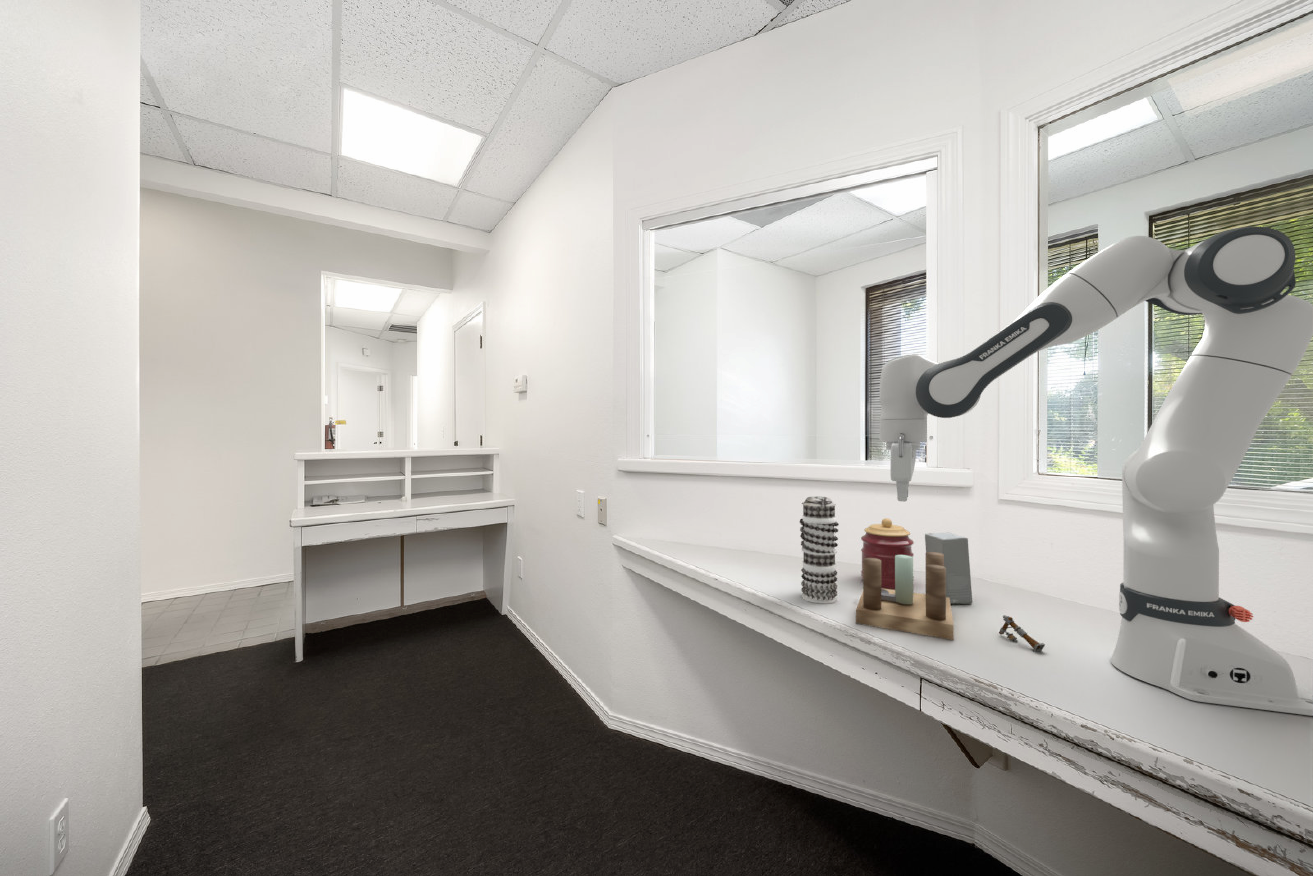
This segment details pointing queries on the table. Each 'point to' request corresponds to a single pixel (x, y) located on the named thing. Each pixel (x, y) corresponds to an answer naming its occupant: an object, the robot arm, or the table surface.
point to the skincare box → (953, 564)
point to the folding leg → (902, 581)
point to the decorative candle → (819, 550)
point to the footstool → (920, 617)
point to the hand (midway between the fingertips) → (902, 499)
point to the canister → (886, 548)
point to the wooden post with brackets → (1021, 632)
